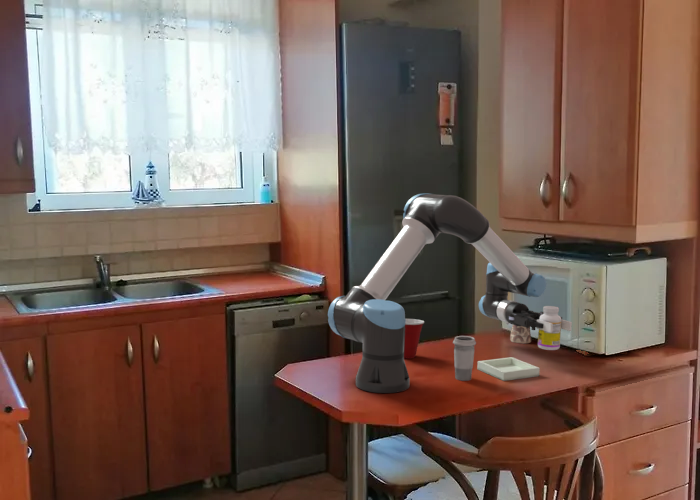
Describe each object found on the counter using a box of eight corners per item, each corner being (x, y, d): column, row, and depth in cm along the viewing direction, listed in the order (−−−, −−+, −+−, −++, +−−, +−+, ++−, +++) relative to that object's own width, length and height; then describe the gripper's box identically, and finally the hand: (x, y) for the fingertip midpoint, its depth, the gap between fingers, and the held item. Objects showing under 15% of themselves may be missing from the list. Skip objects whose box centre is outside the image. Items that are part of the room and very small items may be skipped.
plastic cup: (423, 352, 248) (424, 316, 246) (423, 361, 237) (424, 323, 235) (390, 351, 249) (391, 315, 247) (388, 359, 238) (389, 322, 236)
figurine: (516, 343, 261) (518, 310, 260) (506, 339, 268) (507, 306, 267) (534, 342, 264) (536, 309, 262) (523, 338, 270) (525, 305, 269)
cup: (472, 383, 215) (474, 342, 213) (449, 380, 217) (451, 339, 215) (476, 376, 221) (478, 336, 220) (453, 374, 223) (455, 334, 222)
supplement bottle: (538, 344, 237) (541, 304, 236) (560, 346, 235) (563, 306, 233) (536, 349, 231) (539, 308, 229) (558, 351, 229) (561, 310, 227)
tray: (503, 380, 217) (503, 372, 217) (477, 369, 229) (477, 361, 229) (539, 376, 223) (539, 367, 222) (511, 364, 234) (512, 357, 234)
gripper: (536, 322, 253) (585, 337, 232) (488, 326, 244) (534, 342, 224) (537, 300, 252) (586, 313, 231) (489, 303, 243) (536, 317, 223)
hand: (561, 327), depth 227 cm, fingers closed on supplement bottle, 7 cm apart
